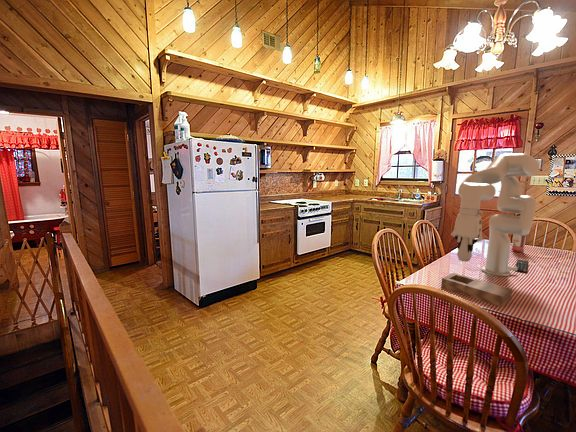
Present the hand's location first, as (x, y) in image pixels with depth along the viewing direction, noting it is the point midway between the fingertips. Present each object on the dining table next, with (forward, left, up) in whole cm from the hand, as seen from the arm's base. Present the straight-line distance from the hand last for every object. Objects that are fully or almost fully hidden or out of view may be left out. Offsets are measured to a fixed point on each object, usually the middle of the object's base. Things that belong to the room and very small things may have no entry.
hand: (464, 251), depth 132 cm
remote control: (-48, -38, -19) cm, 64 cm away
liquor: (-64, -70, -18) cm, 97 cm away
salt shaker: (0, 0, -4) cm, 4 cm away
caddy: (-4, +4, -18) cm, 19 cm away
